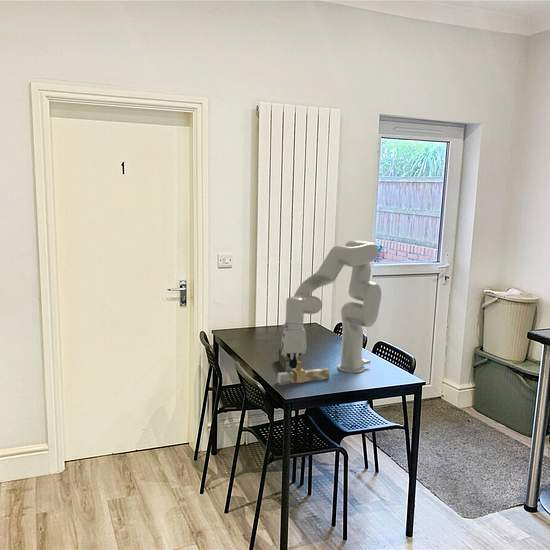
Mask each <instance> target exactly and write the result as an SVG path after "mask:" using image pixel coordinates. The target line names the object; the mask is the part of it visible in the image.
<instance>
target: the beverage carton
mask: <svg viewBox="0 0 550 550" xmlns="http://www.w3.org/2000/svg"><path fill="white" fill-rule="evenodd" d="M281 353H282V349H281V348H280V349H278V361H279V363H280V365H281V367H282V369H283V370H284V371H283V372H287V373H288V374H290V372H292V368H291V367H290V366H289V358H288V357H287V356H284V355H282V354H281ZM293 354H294V353H293ZM297 361H300V362H301V368H302V369H303V361H302V359H301V358H300V356H299V357H298V359H297Z"/></svg>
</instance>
